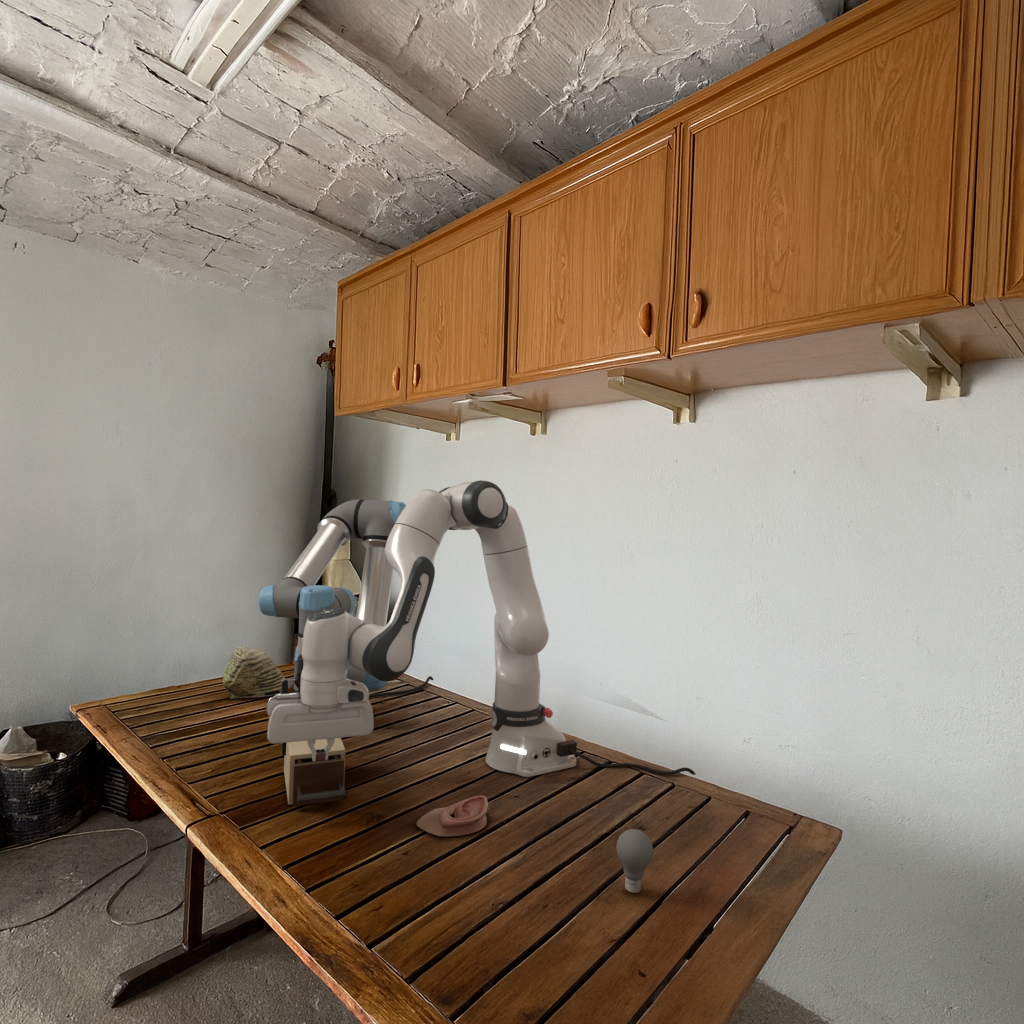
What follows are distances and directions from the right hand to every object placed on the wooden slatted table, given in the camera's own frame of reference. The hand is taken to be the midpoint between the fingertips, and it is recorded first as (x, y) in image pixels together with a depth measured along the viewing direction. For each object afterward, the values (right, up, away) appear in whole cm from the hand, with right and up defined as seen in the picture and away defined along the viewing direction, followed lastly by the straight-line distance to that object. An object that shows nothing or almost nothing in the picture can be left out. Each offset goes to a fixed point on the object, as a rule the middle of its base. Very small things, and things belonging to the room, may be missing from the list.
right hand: (319, 759), depth 126 cm
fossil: (-42, -8, +72) cm, 84 cm away
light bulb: (+58, -14, -20) cm, 63 cm away
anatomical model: (+27, -12, -1) cm, 29 cm away
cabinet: (-6, -11, +13) cm, 18 cm away
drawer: (-3, -10, +7) cm, 13 cm away
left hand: (-7, -5, +18) cm, 20 cm away
